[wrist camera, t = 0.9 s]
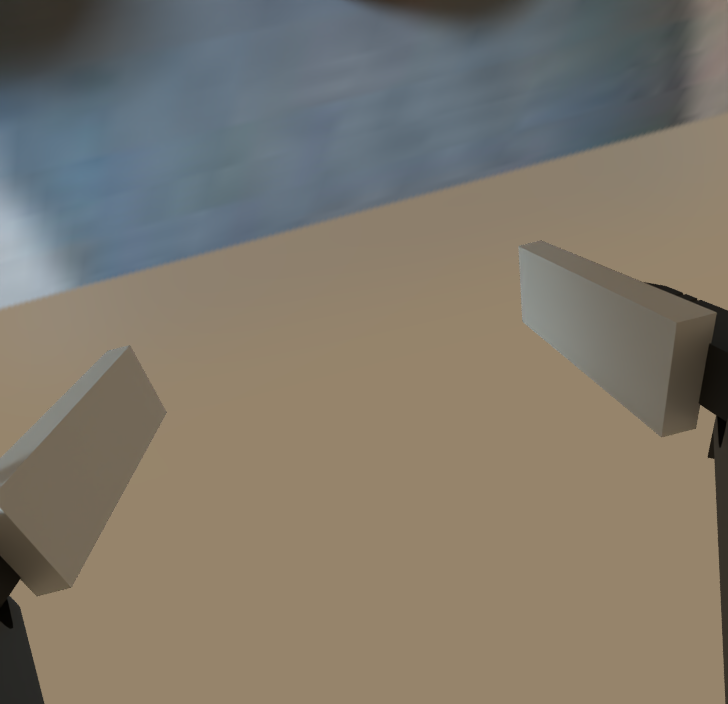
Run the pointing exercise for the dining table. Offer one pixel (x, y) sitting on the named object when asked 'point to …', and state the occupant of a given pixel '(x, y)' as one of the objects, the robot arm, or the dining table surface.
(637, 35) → the dining table surface
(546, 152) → the dining table surface
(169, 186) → the dining table surface
